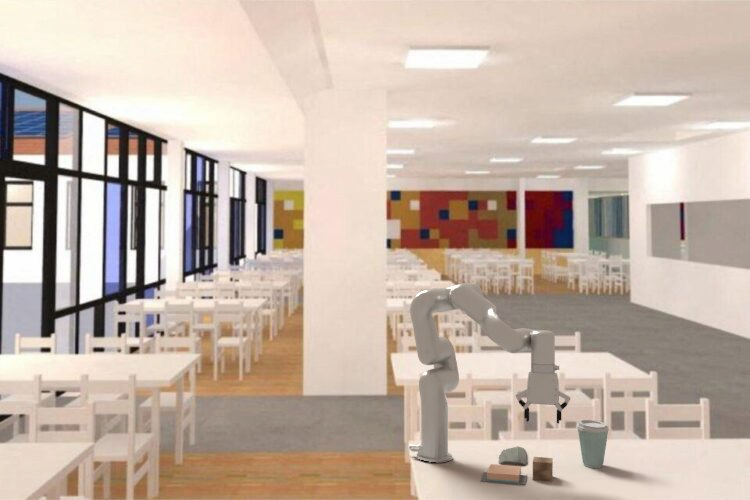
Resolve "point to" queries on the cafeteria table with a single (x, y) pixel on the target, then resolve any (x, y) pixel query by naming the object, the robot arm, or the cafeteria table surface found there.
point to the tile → (504, 473)
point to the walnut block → (542, 469)
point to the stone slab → (513, 456)
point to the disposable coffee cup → (592, 442)
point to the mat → (521, 482)
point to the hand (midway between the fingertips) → (542, 421)
